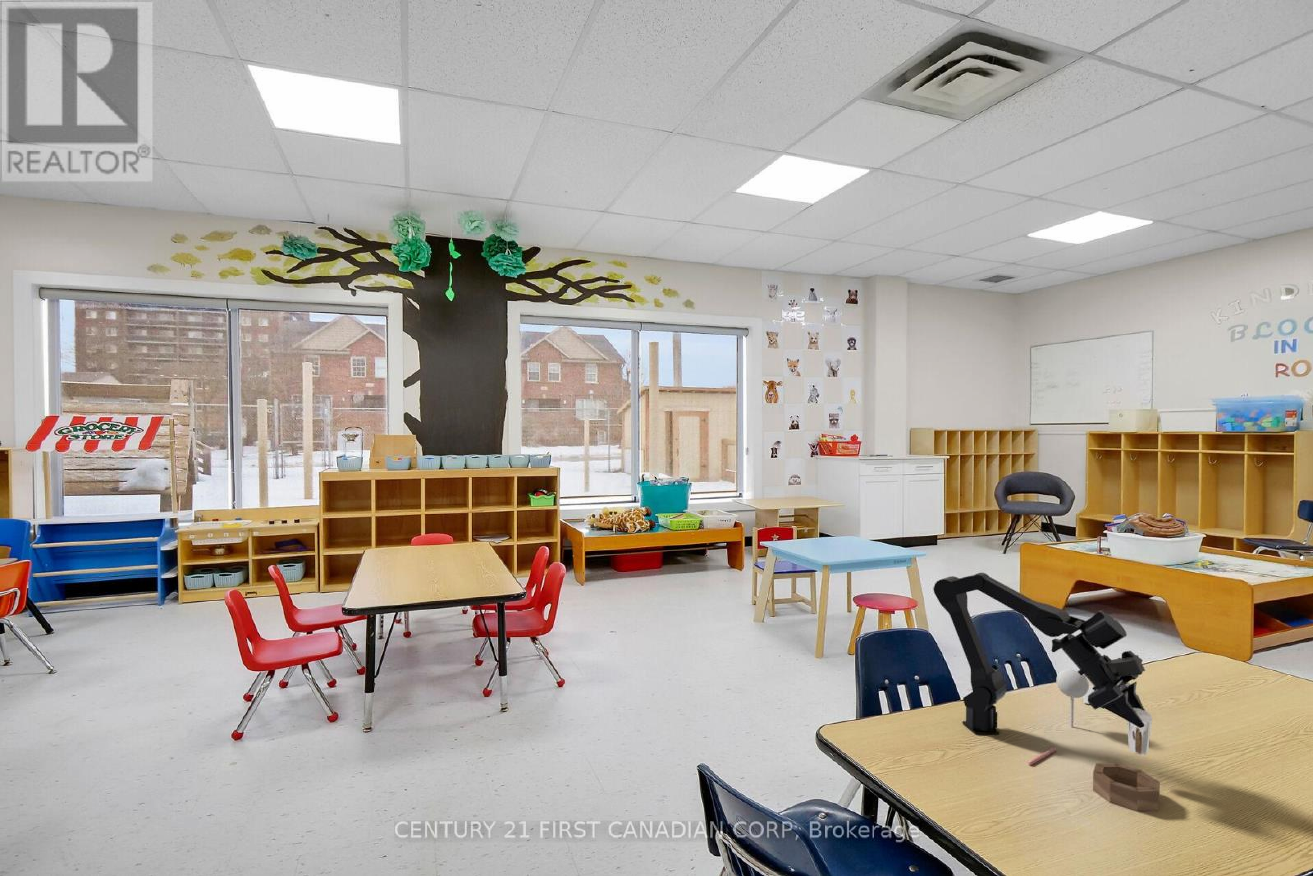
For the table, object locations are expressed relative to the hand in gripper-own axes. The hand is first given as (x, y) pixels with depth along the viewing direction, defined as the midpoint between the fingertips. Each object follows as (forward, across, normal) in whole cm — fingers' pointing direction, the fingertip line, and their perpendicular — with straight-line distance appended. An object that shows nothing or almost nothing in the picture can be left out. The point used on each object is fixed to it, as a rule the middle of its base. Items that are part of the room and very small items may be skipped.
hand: (1145, 723), depth 139 cm
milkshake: (+4, 0, +6) cm, 7 cm away
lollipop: (-4, +20, +23) cm, 30 cm away
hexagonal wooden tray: (+8, -8, +10) cm, 16 cm away
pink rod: (-3, -4, +22) cm, 23 cm away
